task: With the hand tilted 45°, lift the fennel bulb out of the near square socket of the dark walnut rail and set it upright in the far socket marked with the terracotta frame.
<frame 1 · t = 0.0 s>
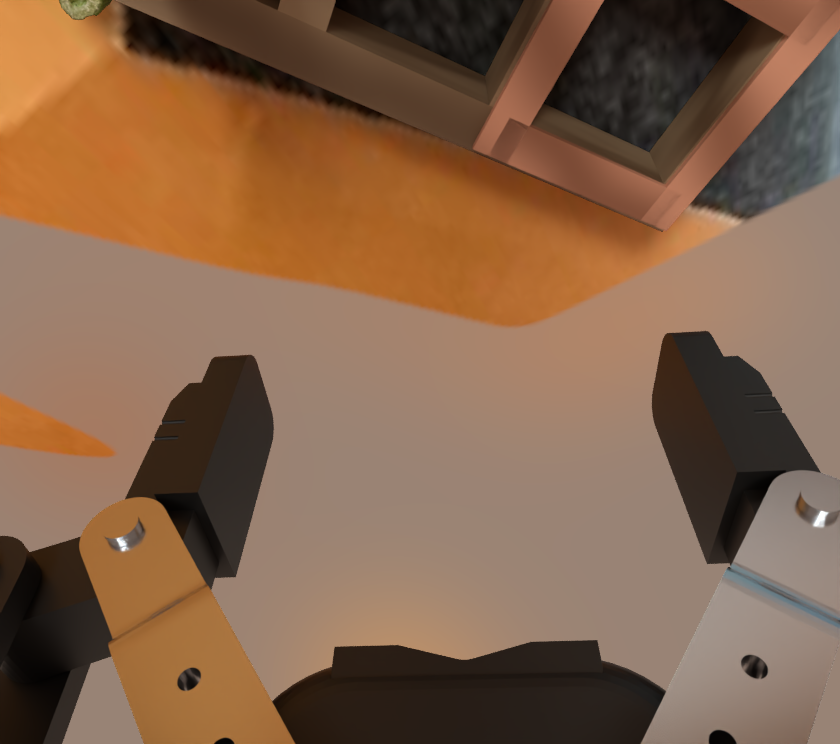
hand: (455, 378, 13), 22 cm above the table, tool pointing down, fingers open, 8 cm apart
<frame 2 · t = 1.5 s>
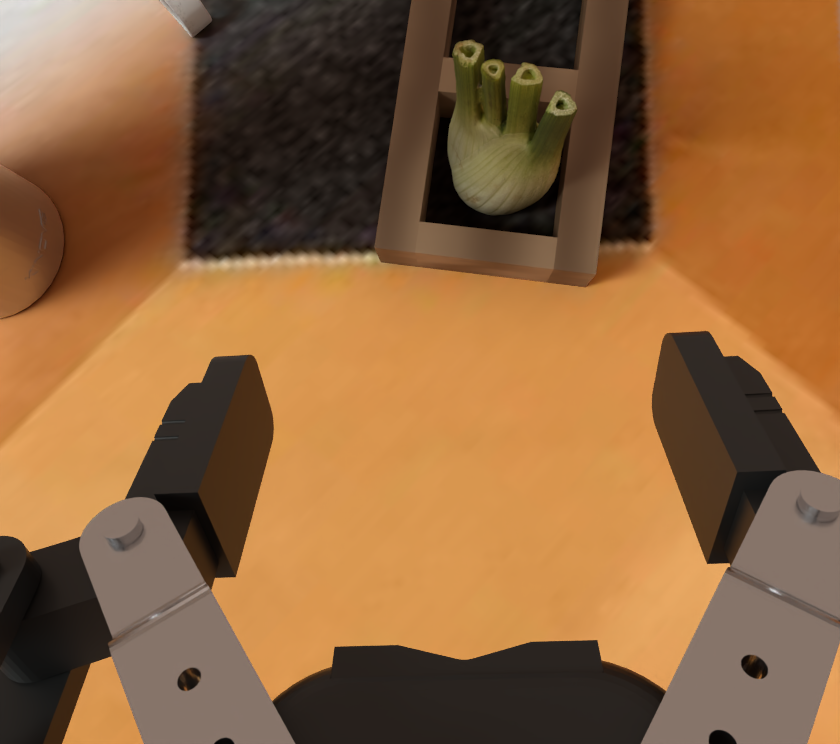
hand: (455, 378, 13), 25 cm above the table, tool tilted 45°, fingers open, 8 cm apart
fennel bulb: (494, 185, 39), resting in socket rail
socket rail: (514, 32, 40), on the table
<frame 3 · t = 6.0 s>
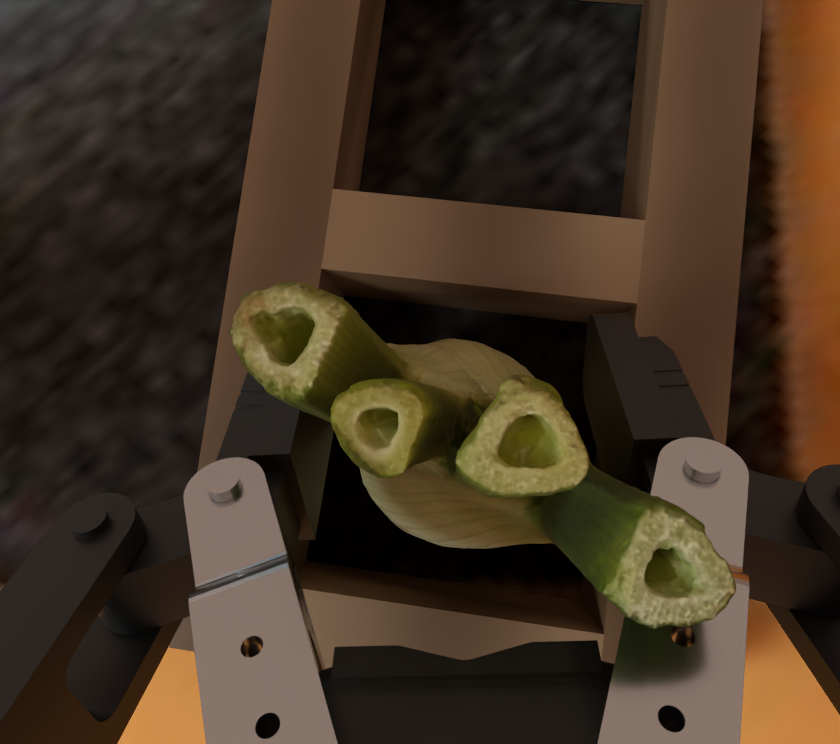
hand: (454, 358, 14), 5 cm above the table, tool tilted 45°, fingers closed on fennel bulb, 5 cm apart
fennel bulb: (457, 443, 18), resting in socket rail, touching gripper
socket rail: (498, 116, 19), on the table
when the fingers open (5 cm above the table, at t = 13.5 s): fennel bulb stays where it is, resting in socket rail.
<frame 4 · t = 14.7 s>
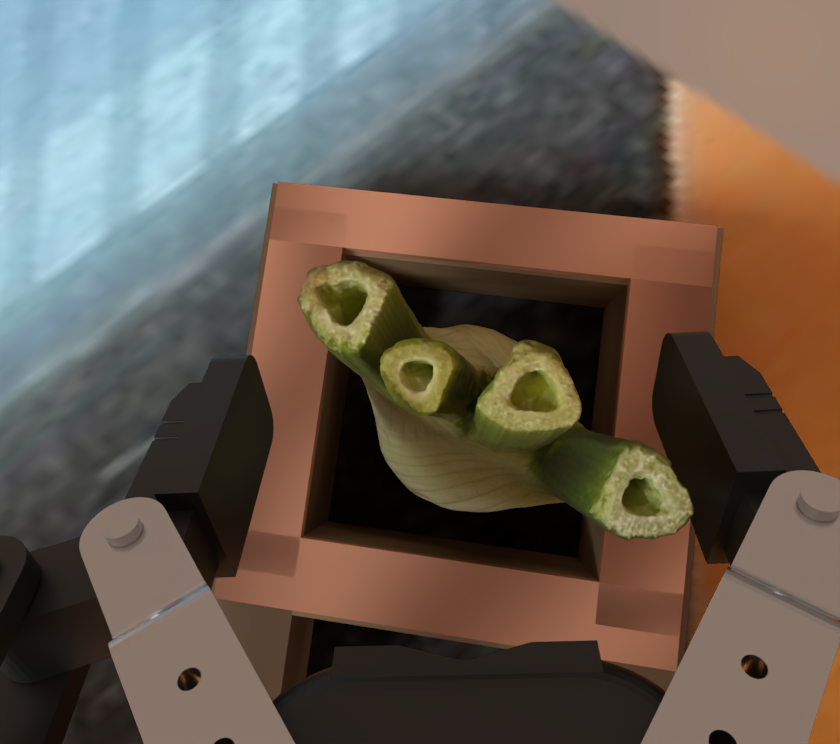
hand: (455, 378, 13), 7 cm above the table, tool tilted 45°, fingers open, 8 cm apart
fennel bulb: (466, 421, 20), resting in socket rail
socket rail: (425, 739, 19), on the table
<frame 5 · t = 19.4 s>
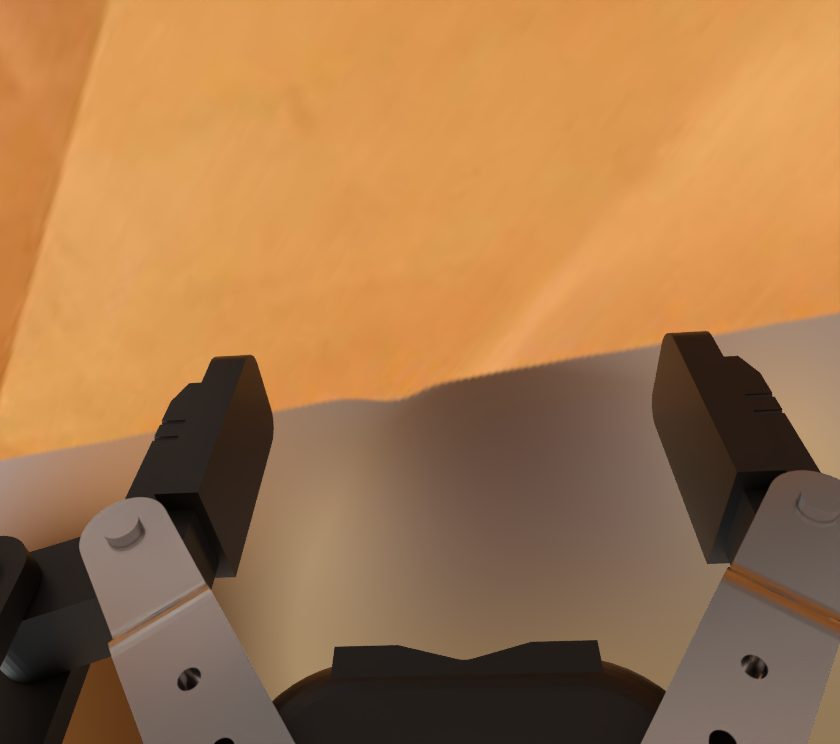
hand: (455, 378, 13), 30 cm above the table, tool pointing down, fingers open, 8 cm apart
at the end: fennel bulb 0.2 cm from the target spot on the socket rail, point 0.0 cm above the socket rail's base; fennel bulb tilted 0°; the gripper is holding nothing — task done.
